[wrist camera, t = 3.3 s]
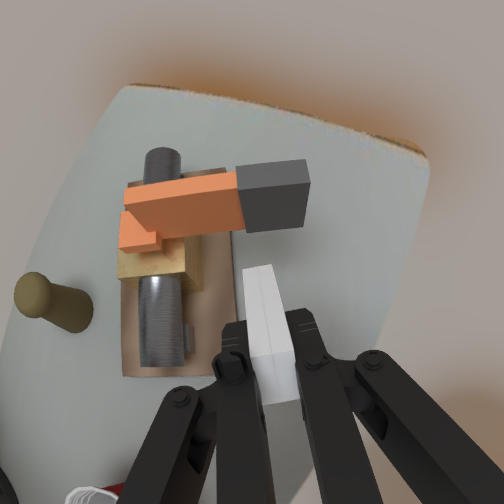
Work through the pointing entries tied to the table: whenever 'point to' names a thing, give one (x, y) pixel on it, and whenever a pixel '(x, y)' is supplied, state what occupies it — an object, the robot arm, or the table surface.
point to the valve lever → (215, 204)
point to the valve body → (163, 279)
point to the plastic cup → (95, 495)
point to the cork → (53, 302)
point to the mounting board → (189, 308)
